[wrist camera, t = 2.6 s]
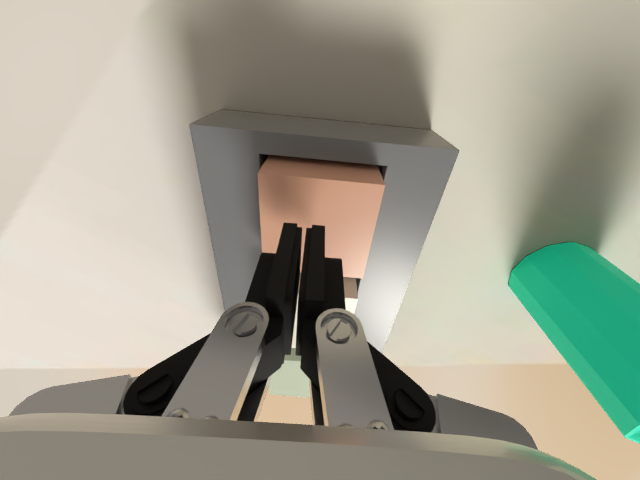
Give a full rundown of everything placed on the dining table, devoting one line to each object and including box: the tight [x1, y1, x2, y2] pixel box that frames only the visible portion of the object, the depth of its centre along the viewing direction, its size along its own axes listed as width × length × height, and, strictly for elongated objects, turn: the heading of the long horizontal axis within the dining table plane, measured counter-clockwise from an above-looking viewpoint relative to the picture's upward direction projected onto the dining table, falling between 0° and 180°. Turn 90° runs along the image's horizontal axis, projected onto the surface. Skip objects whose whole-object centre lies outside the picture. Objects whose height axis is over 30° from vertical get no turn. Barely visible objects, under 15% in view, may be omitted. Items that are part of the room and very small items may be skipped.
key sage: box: [269, 348, 310, 398], centre depth 22 cm, size 5×5×3 cm
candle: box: [508, 242, 640, 444], centre depth 16 cm, size 6×6×12 cm
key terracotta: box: [258, 155, 385, 279], centre depth 14 cm, size 5×5×3 cm
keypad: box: [190, 109, 459, 353], centre depth 20 cm, size 12×22×4 cm, turn 175°
